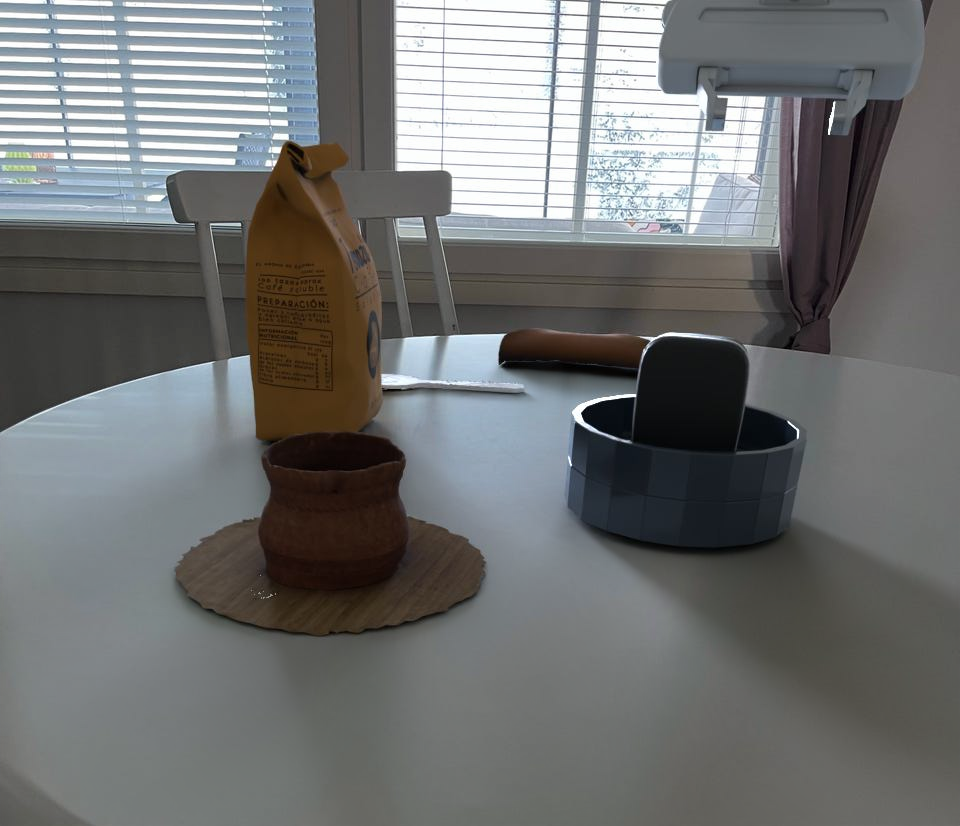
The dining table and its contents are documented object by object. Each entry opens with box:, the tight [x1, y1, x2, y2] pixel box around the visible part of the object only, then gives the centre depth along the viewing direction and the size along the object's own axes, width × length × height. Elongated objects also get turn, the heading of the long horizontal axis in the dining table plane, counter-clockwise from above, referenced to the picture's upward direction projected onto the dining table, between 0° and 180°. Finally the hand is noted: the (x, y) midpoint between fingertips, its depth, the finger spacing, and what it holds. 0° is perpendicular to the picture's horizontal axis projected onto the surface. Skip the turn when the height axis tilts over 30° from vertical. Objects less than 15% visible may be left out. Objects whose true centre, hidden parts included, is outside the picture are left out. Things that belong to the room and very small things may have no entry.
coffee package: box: [245, 140, 384, 442], centre depth 75 cm, size 10×12×22 cm
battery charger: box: [632, 332, 751, 452], centre depth 62 cm, size 7×4×11 cm, turn 73°
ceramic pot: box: [173, 431, 488, 637], centre depth 53 cm, size 18×18×7 cm
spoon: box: [381, 373, 525, 394], centre depth 96 cm, size 5×18×1 cm, turn 87°
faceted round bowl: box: [564, 394, 808, 548], centre depth 63 cm, size 15×15×6 cm
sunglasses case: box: [497, 327, 651, 370], centre depth 107 cm, size 18×7×7 cm
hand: (776, 126), depth 73 cm, fingers open, 8 cm apart
